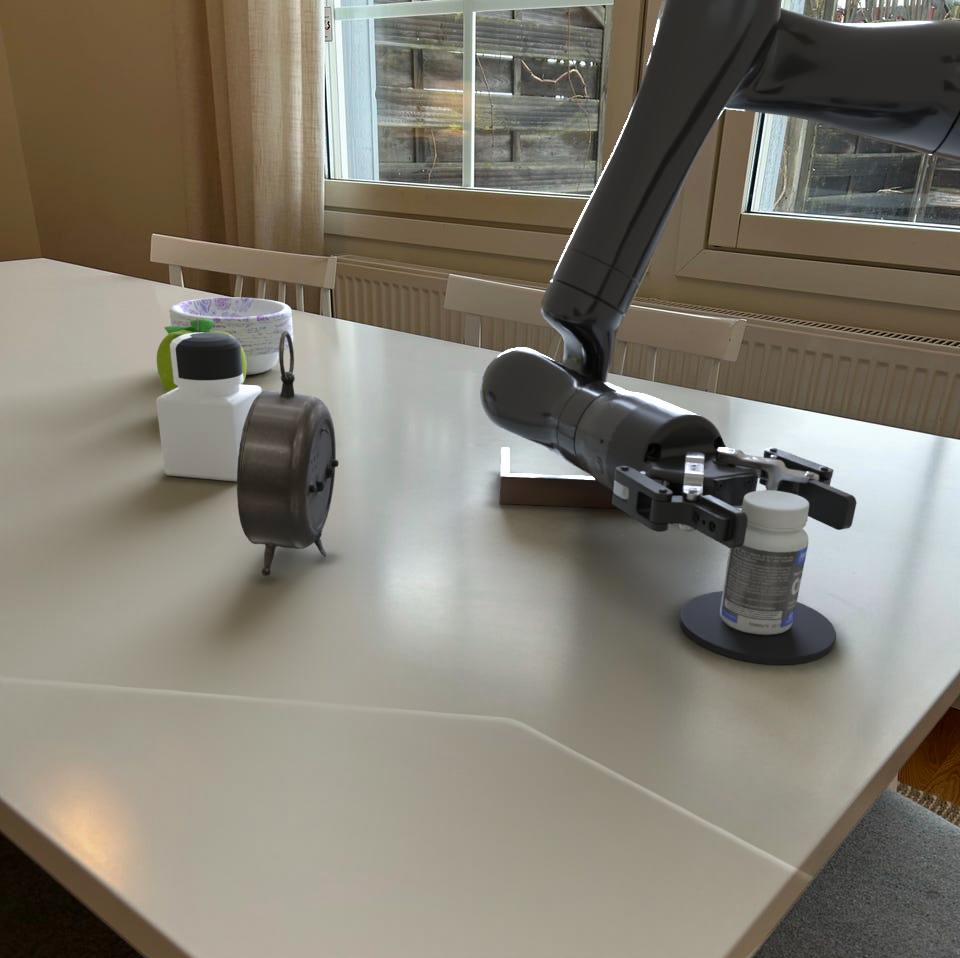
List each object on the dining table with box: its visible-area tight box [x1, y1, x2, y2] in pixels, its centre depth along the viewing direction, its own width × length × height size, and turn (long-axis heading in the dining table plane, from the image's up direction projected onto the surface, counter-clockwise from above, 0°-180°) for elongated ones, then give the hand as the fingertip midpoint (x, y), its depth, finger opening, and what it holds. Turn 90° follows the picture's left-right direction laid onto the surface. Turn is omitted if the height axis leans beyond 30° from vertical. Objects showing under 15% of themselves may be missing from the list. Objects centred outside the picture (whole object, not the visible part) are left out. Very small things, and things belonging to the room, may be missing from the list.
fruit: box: [156, 319, 247, 393], centre depth 107 cm, size 9×9×10 cm
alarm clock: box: [236, 331, 339, 577], centre depth 70 cm, size 11×5×16 cm, turn 174°
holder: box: [498, 447, 619, 509], centre depth 88 cm, size 9×20×2 cm, turn 89°
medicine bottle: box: [155, 332, 263, 482], centre depth 89 cm, size 7×7×12 cm
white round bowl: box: [169, 296, 294, 376], centre depth 127 cm, size 15×15×8 cm
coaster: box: [679, 590, 837, 666], centre depth 65 cm, size 10×10×1 cm
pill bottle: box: [720, 489, 809, 635], centre depth 63 cm, size 5×5×8 cm
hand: (797, 523), depth 60 cm, fingers open, 8 cm apart
